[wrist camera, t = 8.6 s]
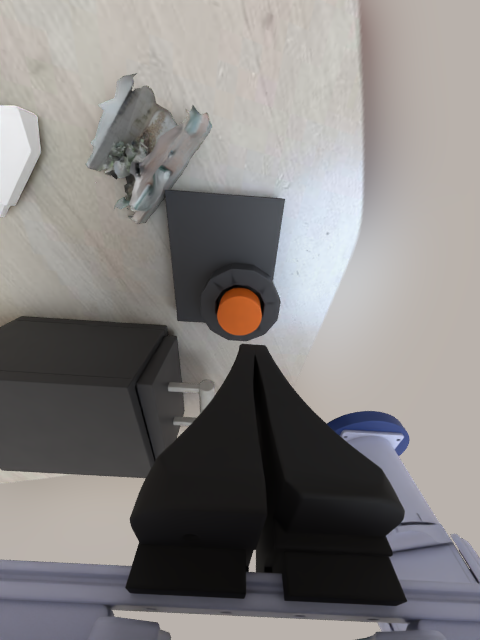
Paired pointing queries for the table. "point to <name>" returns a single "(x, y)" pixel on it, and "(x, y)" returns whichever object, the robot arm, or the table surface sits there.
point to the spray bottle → (16, 152)
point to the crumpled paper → (144, 146)
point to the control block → (223, 254)
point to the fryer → (74, 396)
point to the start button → (239, 311)
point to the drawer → (167, 395)
